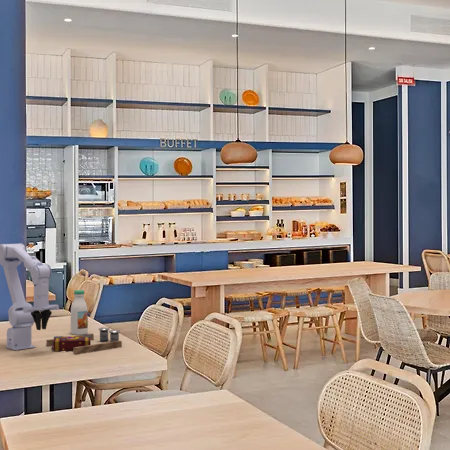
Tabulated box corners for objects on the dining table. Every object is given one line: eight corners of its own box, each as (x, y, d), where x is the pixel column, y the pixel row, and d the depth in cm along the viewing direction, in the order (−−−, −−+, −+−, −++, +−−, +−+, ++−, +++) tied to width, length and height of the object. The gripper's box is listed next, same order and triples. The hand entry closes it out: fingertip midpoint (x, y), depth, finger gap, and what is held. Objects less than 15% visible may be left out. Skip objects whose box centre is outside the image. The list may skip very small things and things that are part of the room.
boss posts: (113, 345, 284) (113, 332, 284) (96, 341, 293) (96, 328, 293) (122, 344, 287) (122, 330, 287) (105, 339, 297) (105, 327, 297)
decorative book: (90, 351, 274) (90, 338, 274) (49, 352, 271) (49, 340, 270) (90, 345, 285) (90, 333, 285) (51, 347, 282) (51, 335, 282)
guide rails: (75, 354, 266) (75, 348, 266) (46, 345, 283) (46, 339, 283) (121, 347, 281) (121, 341, 281) (91, 339, 298) (91, 333, 298)
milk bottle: (71, 335, 306) (71, 291, 306) (70, 332, 314) (70, 289, 313) (88, 334, 308) (88, 291, 308) (87, 331, 316) (87, 289, 316)
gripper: (29, 297, 260) (29, 332, 260) (62, 294, 270) (62, 328, 270) (20, 296, 265) (20, 330, 266) (53, 293, 275) (53, 326, 276)
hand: (41, 329), depth 268 cm, fingers closed
